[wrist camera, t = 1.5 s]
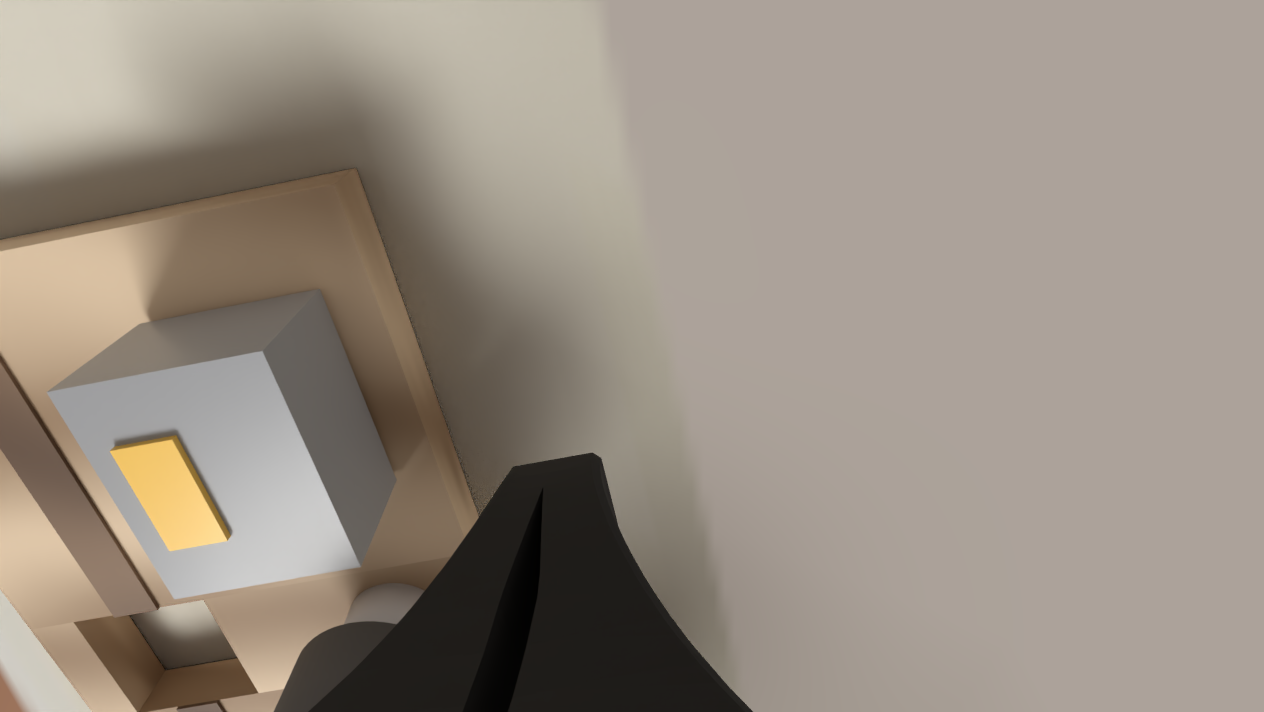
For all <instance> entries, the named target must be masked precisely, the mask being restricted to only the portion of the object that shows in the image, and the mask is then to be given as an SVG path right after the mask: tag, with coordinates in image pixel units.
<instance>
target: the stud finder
mask: <svg viewBox="0 0 1264 712" xmlns="http://www.w3.org/2000/svg"><path fill="white" fill-rule="evenodd" d="M47 394H48V396H49V397H50V399H51V400H52V402H53V404H54V405H55V407H56V409H57V410H58V412H59V413H60V415H61V417H62V418H63V420H64V421H65V423H66V425H67V426H68V428H69V430H70V431H71V433H72V434H73V436H74V438H75V439H76V441H77V443H78V444H79V446H80V447H81V449H82V451H83V452H84V454H85V456H86V457H87V459H88V460H89V462H90V464H91V465H92V467H93V468H94V470H95V472H96V473H97V475H98V477H99V478H100V480H101V481H102V483H103V485H104V486H105V488H106V490H107V491H108V493H109V494H110V496H111V498H112V499H113V501H114V503H115V504H116V506H117V507H118V509H119V511H120V512H121V514H122V515H123V517H124V519H125V520H126V522H127V524H128V525H129V527H130V528H131V530H132V532H133V533H134V535H135V537H136V538H137V540H138V541H139V543H140V545H141V546H142V548H143V550H144V551H145V553H146V554H147V556H148V558H149V559H150V561H151V562H152V564H153V566H154V567H155V569H156V571H157V572H158V574H159V575H160V577H161V579H162V580H163V582H164V584H165V585H166V587H167V588H168V590H169V592H170V593H171V595H172V597H173V598H174V599H180V598H185V597H191V596H197V595H203V594H208V593H214V592H220V591H226V590H231V589H237V588H243V587H249V586H254V585H260V584H266V583H271V582H277V581H283V580H289V579H294V578H300V577H306V576H312V575H317V574H323V573H329V572H335V571H340V570H346V569H352V568H357V567H361V565H362V563H363V561H364V558H365V556H366V553H367V551H368V548H369V546H370V544H371V541H372V539H373V536H374V534H375V531H376V529H377V527H378V524H379V522H380V519H381V517H382V514H383V512H384V510H385V507H386V505H387V502H388V500H389V498H390V495H391V493H392V490H393V488H394V485H395V483H396V481H397V480H396V477H395V475H394V472H393V470H392V467H391V465H390V462H389V460H388V457H387V455H386V452H385V450H384V447H383V445H382V442H381V440H380V437H379V435H378V432H377V430H376V427H375V425H374V422H373V420H372V417H371V415H370V412H369V410H368V407H367V405H366V402H365V400H364V397H363V395H362V392H361V390H360V387H359V385H358V382H357V380H356V378H355V375H354V373H353V370H352V368H351V365H350V363H349V360H348V358H347V355H346V353H345V350H344V348H343V345H342V343H341V340H340V338H339V335H338V333H337V330H336V328H335V325H334V323H333V320H332V318H331V315H330V313H329V310H328V308H327V305H326V303H325V300H324V298H323V295H322V293H321V290H320V289H316V290H311V291H306V292H300V293H295V294H290V295H285V296H280V297H275V298H270V299H264V300H259V301H254V302H249V303H244V304H239V305H233V306H228V307H223V308H218V309H213V310H208V311H203V312H197V313H192V314H187V315H182V316H177V317H172V318H167V319H161V320H156V321H151V322H146V323H141V324H138V325H137V326H136V327H134V328H133V329H132V330H130V331H129V332H128V333H126V334H125V335H123V336H122V337H121V338H119V339H118V340H117V341H115V342H114V343H113V344H111V345H110V346H108V347H107V348H106V349H104V350H103V351H102V352H100V353H99V354H98V355H96V356H95V357H94V358H92V359H91V360H89V361H88V362H87V363H85V364H84V365H83V366H81V367H80V368H79V369H77V370H76V371H75V372H73V373H72V374H70V375H69V376H68V377H66V378H65V379H64V380H62V381H61V382H60V383H58V384H57V385H55V386H54V387H53V388H51V389H50V390H49V391H47Z"/></svg>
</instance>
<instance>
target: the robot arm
mask: <svg viewBox="0 0 1264 712" xmlns="http://www.w3.org/2000/svg"><path fill="white" fill-rule="evenodd" d="M308 712H753V711H752V710H751V709H750V708H749V707H748V706H747V705H746V704H745V703H744V702H743V701H742V700H741V699H740V698H739V697H738V696H737V695H736V694H735V693H734V692H733V691H732V690H731V689H730V688H729V687H728V685H727V684H726V683H725V682H724V681H723V680H722V679H721V677H720V676H719V675H718V674H717V673H716V672H715V670H714V669H713V668H712V667H711V666H710V665H709V664H708V662H707V661H706V660H705V659H704V658H703V657H702V655H701V654H700V653H699V652H698V651H697V650H696V649H695V647H694V646H693V645H692V644H691V643H690V641H689V640H688V639H687V637H686V636H685V635H684V633H683V632H682V631H681V629H680V628H679V627H678V626H677V624H676V623H675V622H674V620H673V619H672V618H671V616H670V615H669V613H668V612H667V610H666V609H665V607H664V606H663V605H662V603H661V602H660V600H659V599H658V597H657V596H656V594H655V593H654V591H653V590H652V588H651V587H650V585H649V583H648V582H647V580H646V578H645V577H644V575H643V573H642V572H641V570H640V568H639V566H638V565H637V563H636V561H635V559H634V558H633V556H632V554H631V552H630V550H629V548H628V546H627V544H626V542H625V540H624V538H623V536H622V534H621V532H620V529H619V527H618V523H617V519H616V515H615V511H614V507H613V503H612V499H611V495H610V491H609V487H608V483H607V479H606V475H605V471H604V467H603V463H602V459H601V458H600V457H599V456H597V455H595V454H594V453H588V454H582V455H576V456H571V457H565V458H560V459H554V460H548V461H543V462H537V463H532V464H526V465H520V466H515V467H513V468H512V469H511V471H510V472H509V474H508V475H507V476H506V478H505V479H504V481H503V482H502V483H501V485H500V486H499V488H498V489H497V491H496V492H495V494H494V495H493V497H492V498H491V500H490V501H489V503H488V504H487V506H486V507H485V509H484V510H483V512H482V513H481V515H480V516H479V518H478V519H477V521H476V522H475V524H474V525H473V527H472V528H471V529H470V531H469V532H468V534H467V535H466V536H465V538H464V539H463V541H462V542H461V544H460V545H459V546H458V548H457V549H456V551H455V552H454V553H453V555H452V556H451V558H450V559H449V560H448V562H447V563H446V564H445V566H444V567H443V568H442V570H441V571H440V572H439V573H438V575H437V576H436V577H435V578H434V580H433V581H432V582H431V584H430V585H429V586H428V587H427V589H426V590H425V591H424V592H423V594H422V595H421V596H420V597H419V599H418V600H417V601H416V603H415V604H414V605H413V606H412V607H411V609H410V610H409V611H408V612H407V613H406V614H405V616H404V617H403V618H402V619H401V620H400V621H399V622H398V623H397V625H396V626H395V627H394V628H393V629H392V630H391V631H390V632H389V633H388V635H387V636H386V637H385V638H384V639H383V640H382V641H381V642H380V643H379V644H378V645H377V646H376V647H375V648H374V649H373V650H372V651H371V652H370V653H369V654H368V656H367V657H366V658H365V659H364V660H363V661H362V662H361V663H360V664H359V665H358V666H357V667H356V668H355V669H354V670H353V671H352V672H351V673H350V674H349V675H347V676H346V677H345V678H344V679H343V680H342V681H341V682H340V683H339V684H338V685H337V686H336V687H334V688H333V689H332V690H331V691H330V692H329V693H328V694H327V695H326V696H325V697H324V698H322V699H321V700H320V701H319V702H318V703H317V704H316V705H315V706H314V707H313V708H312V709H311V710H309V711H308Z"/></svg>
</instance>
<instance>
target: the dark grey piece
mask: <svg viewBox="0 0 1264 712" xmlns="http://www.w3.org/2000/svg"><path fill="white" fill-rule="evenodd" d="M423 592H424V590H422V589H420V588H418V587H415V586H411V585H407V584H401V583H387V584H380V585H376V586H373V587H371V588H369V589H367V590H365V591H363V592H362V593H361V594H359V595H358V596H357V597H356V599H355V600H354V601H353V603H352V605H351V607H350V610H349V612H348V615H347V617H346V620H345V622H344V624H343V625H339V626H336V627H333V628H330V629H328V630H326V631H324V632H322V633H320V634H319V635H317V636H316V637H314V638H313V639H312V640H311V641H310V642H309V643H308V644H307V645H306V646H305V647H304V648H303V650H302V651H301V653H300V655H299V657H298V659H297V661H296V663H295V665H294V668H293V670H292V672H291V674H290V677H289V679H288V681H287V683H286V685H285V688H284V690H283V692H282V694H281V697H280V699H279V701H278V703H277V705H276V708H275V710H274V712H308V711H309V710H311V709H312V708H313V707H314V706H315V705H316V704H317V703H318V702H319V701H320V700H321V699H322V698H324V697H325V696H326V695H327V694H328V693H329V692H330V691H331V690H332V689H333V688H334V687H336V686H337V685H338V684H339V683H340V682H341V681H342V680H343V679H344V678H345V677H346V676H347V675H349V674H350V673H351V672H352V671H353V670H354V669H355V668H356V667H357V666H358V665H359V664H360V663H361V662H362V661H363V660H364V659H365V658H366V657H367V656H368V654H369V653H370V652H371V651H372V650H373V649H374V648H375V647H376V646H377V645H378V644H379V643H380V642H381V641H382V640H383V639H384V638H385V637H386V636H387V635H388V633H389V632H390V631H391V630H392V629H393V628H394V627H395V626H396V625H397V623H398V622H399V621H400V620H401V619H402V618H403V617H404V616H405V614H406V613H407V612H408V611H409V610H410V609H411V607H412V606H413V605H414V604H415V603H416V601H417V600H418V599H419V597H420V596H421V595H422V594H423Z"/></svg>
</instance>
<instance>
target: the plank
mask: <svg viewBox="0 0 1264 712" xmlns="http://www.w3.org/2000/svg"><path fill="white" fill-rule="evenodd" d="M316 289H320V290H321V293H322V295H323V298H324V300H325V303H326V305H327V308H328V310H329V313H330V315H331V318H332V320H333V323H334V325H335V328H336V330H337V333H338V335H339V338H340V340H341V343H342V345H343V348H344V350H345V353H346V355H347V358H348V360H349V363H350V365H351V368H352V370H353V373H354V375H355V378H356V380H357V382H358V385H359V387H360V390H361V392H362V395H363V397H364V400H365V402H366V405H367V407H368V410H369V412H370V415H371V417H372V420H373V422H374V425H375V427H376V430H377V432H378V435H379V437H380V440H381V442H382V445H383V447H384V450H385V452H386V455H387V457H388V460H389V462H390V465H391V467H392V470H393V472H394V475H395V477H396V480H397V481H396V483H395V485H394V488H393V490H392V493H391V495H390V498H389V500H388V502H387V505H386V507H385V510H384V512H383V514H382V517H381V519H380V522H379V524H378V527H377V529H376V531H375V534H374V536H373V539H372V541H371V544H370V546H369V548H368V551H367V553H366V556H365V558H364V561H363V563H362V565H361V567H357V568H352V569H346V570H340V571H335V572H329V573H323V574H317V575H312V576H306V577H300V578H294V579H289V580H283V581H277V582H271V583H266V584H260V585H254V586H249V587H243V588H237V589H231V590H226V591H220V592H214V593H208V594H203V595H197V596H191V597H185V598H180V599H174V598H173V597H172V595H171V593H170V592H169V590H168V588H167V587H166V585H165V584H164V582H163V580H162V579H161V577H160V575H159V574H158V572H157V571H156V569H155V567H154V566H153V564H152V562H151V561H150V559H149V558H148V556H147V554H146V553H145V551H144V550H143V548H142V546H141V545H140V543H139V541H138V540H137V538H136V537H135V535H134V533H133V532H132V530H131V528H130V527H129V525H128V524H127V522H126V520H125V519H124V517H123V515H122V514H121V512H120V511H119V509H118V507H117V506H116V504H115V503H114V501H113V499H112V498H111V496H110V494H109V493H108V491H107V490H106V488H105V486H104V485H103V483H102V481H101V480H100V478H99V477H98V475H97V473H96V472H95V470H94V468H93V467H92V465H91V464H90V462H89V460H88V459H87V457H86V456H85V454H84V452H83V451H82V449H81V447H80V446H79V444H78V443H77V441H76V439H75V438H74V436H73V434H72V433H71V431H70V430H69V428H68V426H67V425H66V423H65V421H64V420H63V418H62V417H61V415H60V413H59V412H58V410H57V409H56V407H55V405H54V404H53V402H52V400H51V399H50V397H49V396H48V394H47V391H49V390H50V389H51V388H53V387H54V386H55V385H57V384H58V383H60V382H61V381H62V380H64V379H65V378H66V377H68V376H69V375H70V374H72V373H73V372H75V371H76V370H77V369H79V368H80V367H81V366H83V365H84V364H85V363H87V362H88V361H89V360H91V359H92V358H94V357H95V356H96V355H98V354H99V353H100V352H102V351H103V350H104V349H106V348H107V347H108V346H110V345H111V344H113V343H114V342H115V341H117V340H118V339H119V338H121V337H122V336H123V335H125V334H126V333H128V332H129V331H130V330H132V329H133V328H134V327H136V326H137V325H138V324H141V323H146V322H151V321H156V320H161V319H167V318H172V317H177V316H182V315H187V314H192V313H197V312H203V311H208V310H213V309H218V308H223V307H228V306H233V305H239V304H244V303H249V302H254V301H259V300H264V299H270V298H275V297H280V296H285V295H290V294H295V293H300V292H306V291H311V290H316ZM478 518H479V516H478V513H477V510H476V507H475V505H474V502H473V499H472V496H471V493H470V490H469V488H468V485H467V482H466V479H465V476H464V473H463V470H462V468H461V465H460V462H459V459H458V456H457V453H456V450H455V448H454V445H453V442H452V439H451V436H450V433H449V431H448V428H447V425H446V422H445V419H444V416H443V413H442V411H441V408H440V405H439V402H438V399H437V396H436V394H435V391H434V388H433V385H432V382H431V379H430V376H429V374H428V371H427V368H426V365H425V362H424V359H423V357H422V354H421V351H420V348H419V345H418V342H417V339H416V337H415V334H414V331H413V328H412V325H411V322H410V320H409V317H408V314H407V311H406V308H405V305H404V302H403V300H402V297H401V294H400V291H399V288H398V285H397V282H396V280H395V277H394V274H393V271H392V268H391V265H390V263H389V260H388V257H387V254H386V251H385V248H384V245H383V243H382V240H381V237H380V234H379V231H378V228H377V226H376V223H375V220H374V217H373V214H372V211H371V208H370V206H369V203H368V200H367V197H366V194H365V191H364V189H363V186H362V183H361V180H360V177H359V174H358V171H357V169H356V168H353V169H348V170H343V171H338V172H333V173H328V174H323V175H318V176H313V177H308V178H304V179H299V180H294V181H289V182H284V183H279V184H274V185H269V186H264V187H259V188H254V189H249V190H244V191H239V192H234V193H229V194H224V195H219V196H214V197H209V198H205V199H200V200H195V201H190V202H185V203H180V204H175V205H170V206H165V207H160V208H155V209H150V210H145V211H140V212H135V213H130V214H125V215H120V216H115V217H110V218H106V219H101V220H96V221H91V222H86V223H81V224H76V225H71V226H66V227H61V228H56V229H51V230H46V231H41V232H36V233H31V234H26V235H21V236H16V237H11V238H7V239H2V240H0V589H1V591H2V592H3V593H4V595H5V596H6V597H7V599H8V600H9V601H10V603H11V604H12V605H13V607H14V608H15V609H16V611H17V612H18V613H19V615H20V616H21V617H22V619H23V620H24V621H25V623H26V624H27V625H28V627H29V628H30V629H31V631H32V632H33V633H34V635H35V636H36V637H37V639H38V640H39V641H40V643H41V644H42V645H43V647H44V648H45V649H46V651H47V652H48V653H49V655H50V656H51V657H52V659H53V660H54V661H55V663H56V664H57V665H58V667H59V668H60V669H61V671H62V672H63V673H64V675H65V676H66V677H67V679H68V680H69V681H70V683H71V684H72V685H73V687H74V688H75V689H76V691H77V692H78V693H79V695H80V696H81V697H82V699H83V700H84V701H85V703H86V704H87V705H88V707H89V708H90V709H91V711H92V712H274V710H275V708H276V705H277V703H278V701H279V699H280V697H281V694H282V692H283V690H284V688H285V685H286V683H287V681H288V679H289V677H290V674H291V672H292V670H293V668H294V665H295V663H296V661H297V659H298V657H299V655H300V653H301V651H302V650H303V648H304V647H305V646H306V645H307V644H308V643H309V642H310V641H311V640H312V639H313V638H314V637H316V636H317V635H319V634H320V633H322V632H324V631H326V630H328V629H330V628H333V627H336V626H339V625H343V624H344V622H345V620H346V617H347V615H348V612H349V610H350V607H351V605H352V603H353V601H354V600H355V599H356V597H357V596H358V595H359V594H361V593H362V592H363V591H365V590H367V589H369V588H371V587H373V586H376V585H380V584H387V583H401V584H407V585H411V586H415V587H418V588H420V589H422V590H424V591H425V590H426V589H427V587H428V586H429V585H430V584H431V582H432V581H433V580H434V578H435V577H436V576H437V575H438V573H439V572H440V571H441V570H442V568H443V567H444V566H445V564H446V563H447V562H448V560H449V559H450V558H451V556H452V555H453V553H454V552H455V551H456V549H457V548H458V546H459V545H460V544H461V542H462V541H463V539H464V538H465V536H466V535H467V534H468V532H469V531H470V529H471V528H472V527H473V525H474V524H475V522H476V521H477V519H478ZM199 600H204V602H205V604H206V605H207V607H208V609H209V610H210V612H211V614H212V615H213V617H214V619H215V620H216V622H217V624H218V625H219V627H220V629H221V630H222V632H223V634H224V635H225V637H226V639H227V641H228V642H229V644H230V646H231V647H232V649H233V651H234V652H235V654H236V656H237V657H238V658H235V659H230V660H224V661H218V662H212V663H206V664H200V665H194V666H188V667H182V668H176V669H171V670H165V669H164V668H163V666H162V665H161V663H160V662H159V660H158V659H157V657H156V655H155V654H154V652H153V651H152V649H151V648H150V646H149V645H148V643H147V642H146V640H145V639H144V637H143V636H142V634H141V633H140V631H139V630H138V628H137V627H136V625H135V624H134V622H133V621H132V619H131V618H130V616H129V615H132V614H138V613H144V612H150V611H155V610H158V609H159V608H160V607H164V606H170V605H176V604H181V603H187V602H193V601H199Z"/></svg>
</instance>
